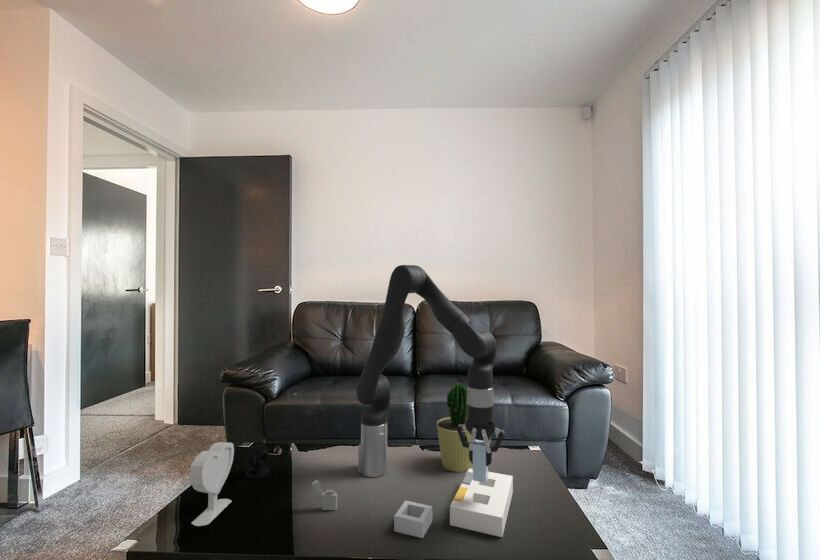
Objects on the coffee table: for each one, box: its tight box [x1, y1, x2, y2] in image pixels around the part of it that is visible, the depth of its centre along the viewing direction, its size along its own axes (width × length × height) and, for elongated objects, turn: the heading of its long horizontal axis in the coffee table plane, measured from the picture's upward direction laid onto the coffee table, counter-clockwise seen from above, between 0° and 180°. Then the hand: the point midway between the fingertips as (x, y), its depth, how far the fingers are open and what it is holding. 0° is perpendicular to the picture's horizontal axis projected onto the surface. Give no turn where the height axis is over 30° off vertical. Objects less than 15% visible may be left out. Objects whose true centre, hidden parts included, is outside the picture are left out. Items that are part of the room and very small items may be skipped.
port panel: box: [449, 468, 514, 538], centre depth 113 cm, size 14×24×5 cm, turn 159°
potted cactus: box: [436, 383, 478, 473], centre depth 141 cm, size 15×15×30 cm
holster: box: [393, 500, 433, 539], centre depth 104 cm, size 8×8×4 cm
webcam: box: [245, 444, 270, 480], centre depth 132 cm, size 8×8×10 cm
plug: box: [472, 439, 489, 483], centre depth 109 cm, size 4×4×10 cm
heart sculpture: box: [189, 441, 235, 527], centre depth 111 cm, size 16×5×18 cm, turn 175°
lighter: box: [311, 479, 338, 511], centre depth 112 cm, size 7×2×8 cm, turn 89°
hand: (480, 463), depth 109 cm, fingers closed on plug, 3 cm apart
